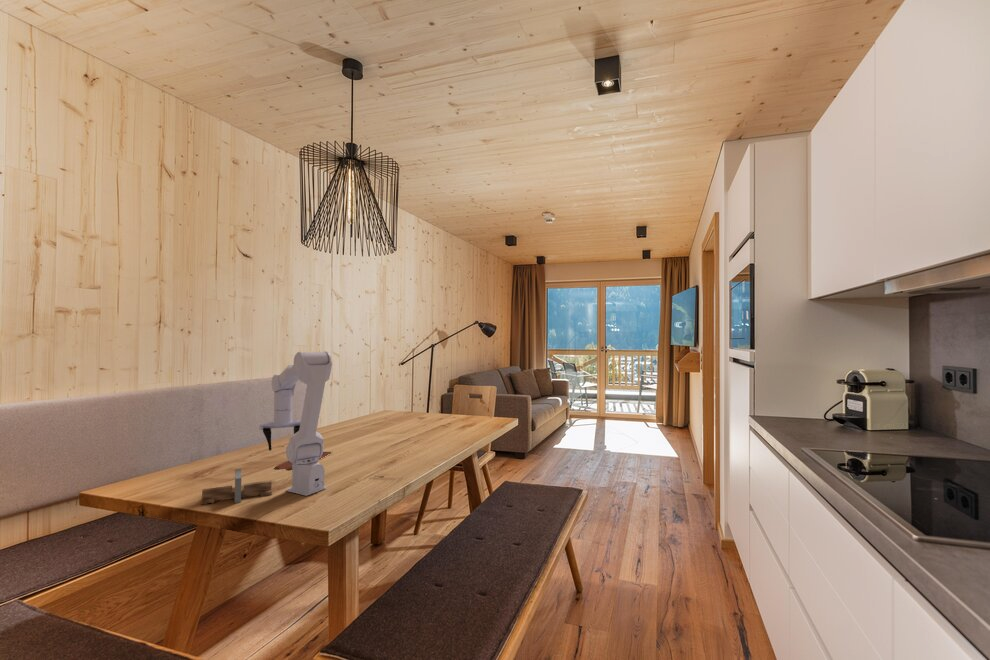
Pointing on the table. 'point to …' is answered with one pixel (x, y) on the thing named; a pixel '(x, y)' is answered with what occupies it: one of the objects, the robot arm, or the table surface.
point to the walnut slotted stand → (226, 492)
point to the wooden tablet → (288, 464)
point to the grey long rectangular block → (237, 485)
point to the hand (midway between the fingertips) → (282, 448)
